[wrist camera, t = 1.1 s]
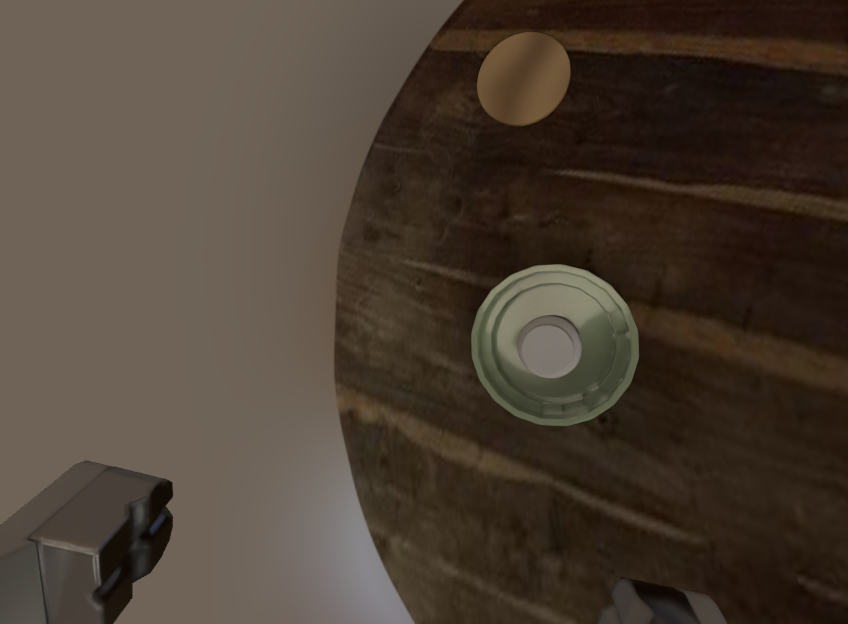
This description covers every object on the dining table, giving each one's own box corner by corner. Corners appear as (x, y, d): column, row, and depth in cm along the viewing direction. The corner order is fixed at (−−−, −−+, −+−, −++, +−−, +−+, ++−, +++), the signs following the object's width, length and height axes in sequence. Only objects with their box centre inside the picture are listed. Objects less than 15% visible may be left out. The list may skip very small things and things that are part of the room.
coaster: (582, 39, 43) (582, 36, 42) (554, 133, 43) (554, 131, 43) (492, 30, 45) (491, 27, 45) (467, 119, 46) (466, 117, 46)
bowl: (653, 291, 41) (661, 288, 37) (605, 438, 42) (609, 450, 38) (502, 253, 45) (495, 247, 41) (463, 387, 46) (453, 393, 42)
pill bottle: (520, 319, 44) (507, 320, 36) (575, 310, 42) (575, 309, 34) (529, 373, 44) (518, 387, 35) (585, 366, 42) (588, 379, 34)
